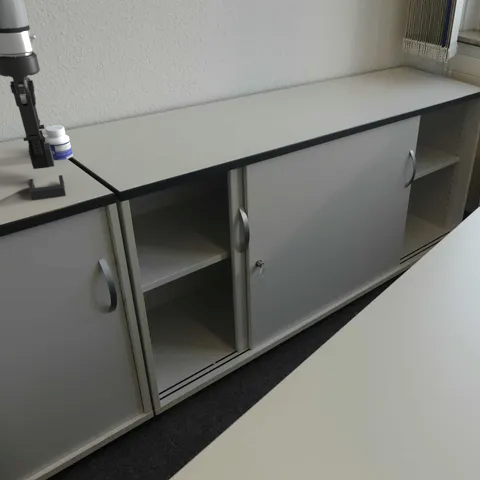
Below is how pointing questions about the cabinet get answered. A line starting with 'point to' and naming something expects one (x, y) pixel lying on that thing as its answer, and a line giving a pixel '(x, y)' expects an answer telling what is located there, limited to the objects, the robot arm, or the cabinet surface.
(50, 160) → the pad block
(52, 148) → the pill bottle
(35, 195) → the dark grey u-shaped piece
